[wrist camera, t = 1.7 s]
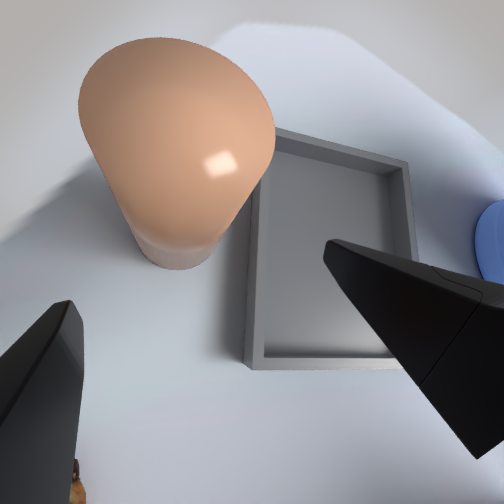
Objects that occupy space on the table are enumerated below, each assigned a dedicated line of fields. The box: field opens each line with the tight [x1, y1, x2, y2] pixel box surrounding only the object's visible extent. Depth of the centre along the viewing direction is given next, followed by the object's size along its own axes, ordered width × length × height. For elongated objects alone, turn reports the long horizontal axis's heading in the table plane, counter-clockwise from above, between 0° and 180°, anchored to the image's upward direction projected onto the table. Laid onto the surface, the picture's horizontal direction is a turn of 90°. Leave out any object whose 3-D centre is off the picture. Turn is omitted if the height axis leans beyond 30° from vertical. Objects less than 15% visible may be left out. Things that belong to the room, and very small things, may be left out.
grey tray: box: [243, 127, 419, 370], centre depth 23 cm, size 20×16×2 cm
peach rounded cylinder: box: [78, 37, 275, 270], centre depth 15 cm, size 6×6×13 cm
